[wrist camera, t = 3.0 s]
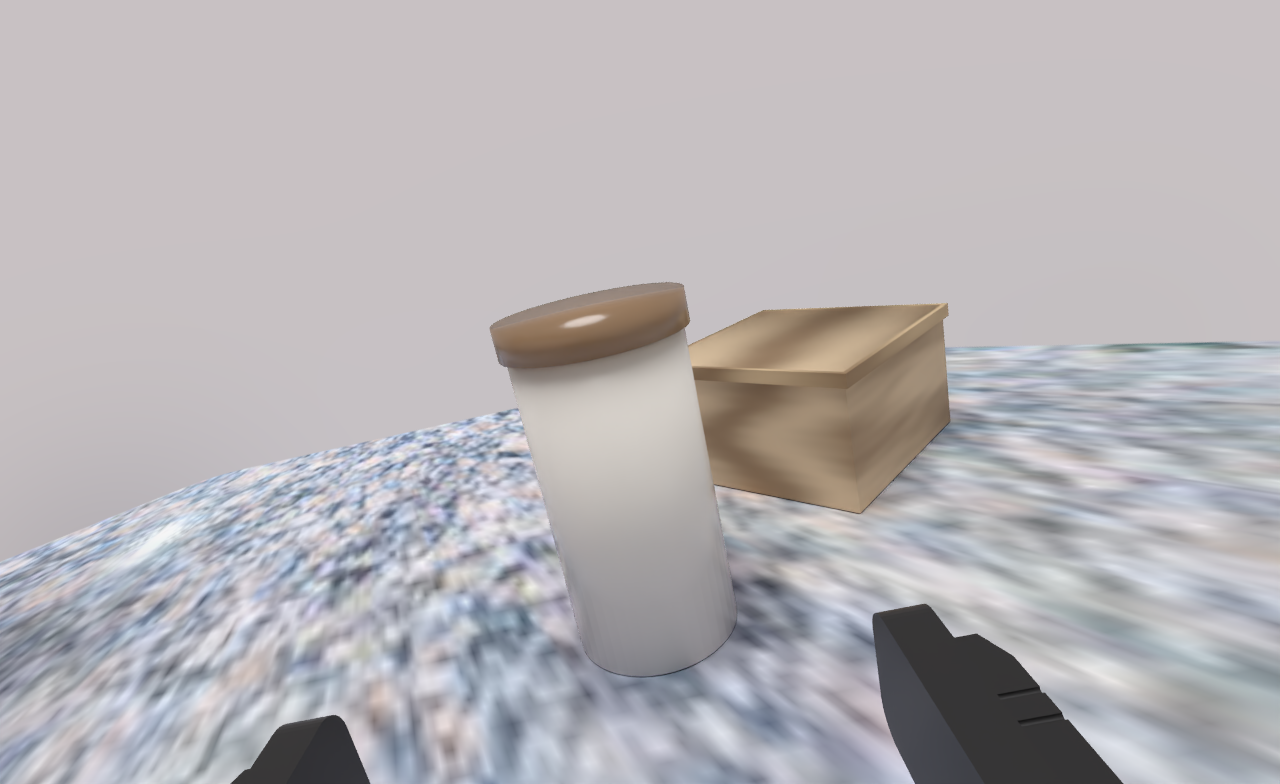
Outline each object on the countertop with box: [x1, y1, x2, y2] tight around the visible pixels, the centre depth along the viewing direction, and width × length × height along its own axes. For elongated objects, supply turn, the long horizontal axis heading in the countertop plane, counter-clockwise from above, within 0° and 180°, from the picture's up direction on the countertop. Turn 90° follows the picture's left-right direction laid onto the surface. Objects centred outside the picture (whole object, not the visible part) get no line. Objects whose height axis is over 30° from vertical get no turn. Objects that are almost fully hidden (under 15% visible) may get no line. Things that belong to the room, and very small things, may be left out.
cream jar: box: [490, 282, 737, 677], centre depth 21 cm, size 6×6×11 cm
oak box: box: [688, 303, 950, 513], centre depth 32 cm, size 10×10×6 cm
